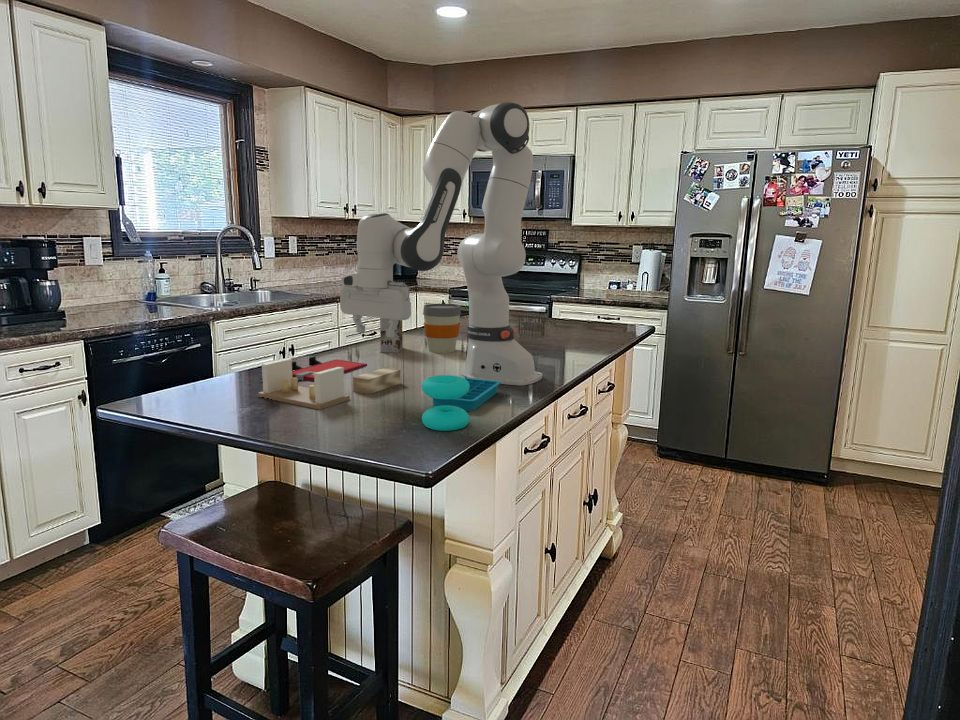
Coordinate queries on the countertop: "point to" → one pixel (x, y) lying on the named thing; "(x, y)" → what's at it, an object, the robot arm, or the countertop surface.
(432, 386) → the donuts
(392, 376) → the tan wooden block
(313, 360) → the red board with handle
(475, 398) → the ice cube tray
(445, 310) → the reusable coffee cup
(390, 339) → the coffee box
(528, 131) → the robot arm
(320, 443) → the countertop surface
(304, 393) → the cradle
